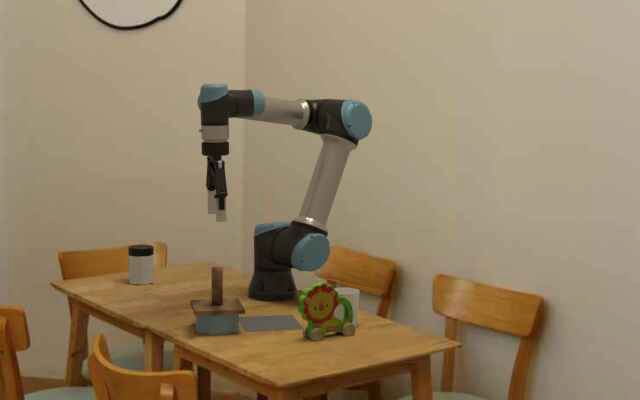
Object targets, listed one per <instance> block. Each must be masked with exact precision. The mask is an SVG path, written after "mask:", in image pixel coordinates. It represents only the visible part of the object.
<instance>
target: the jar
mask: <svg viewBox="0 0 640 400" xmlns="http://www.w3.org/2000/svg"><path fill="white" fill-rule="evenodd" d="M154 247H155V246H153V245H151V244H133V245H132V244H131V245H129V246H128V247H127V248H128V250H127V251H128V252H127V253H128V284H129V283H135V284H147V283H152V282H154V283H155V271H154V270H155V267H154V266H155V265H154V264H155V262H154V261H155V260H154V257H155V256H154V254H155V253H154V252H155V251H154V250H155V249H154ZM147 285H148V284H147Z"/></svg>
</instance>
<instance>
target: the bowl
mask: <svg viewBox="0 0 640 400" xmlns="http://www.w3.org/2000/svg"><path fill="white" fill-rule="evenodd" d="M239 317H240V314H233V315H209V316H195V331H196V332H197V333H198V334H203V335H208V336H218V335H219V336H221V335H230V334H233V333H236V332H238V331H239V330H240V329H239V328H240V327H239V326H240V322H239Z"/></svg>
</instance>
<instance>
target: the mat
mask: <svg viewBox="0 0 640 400" xmlns="http://www.w3.org/2000/svg"><path fill="white" fill-rule="evenodd" d="M239 325H241V327H242V329H243V332H245V333H253V332H257V333H258V332H275V331H278V332H279V331H294V330H295V331H297V330H303V329H304V327H303V326H302V325H301V323H300V322H299V321H298V319H296V317H295V316H294V315H293V314H279V315H276V314H275V315H274V314H273V315H252V316H250V315H249V316H239Z"/></svg>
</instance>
